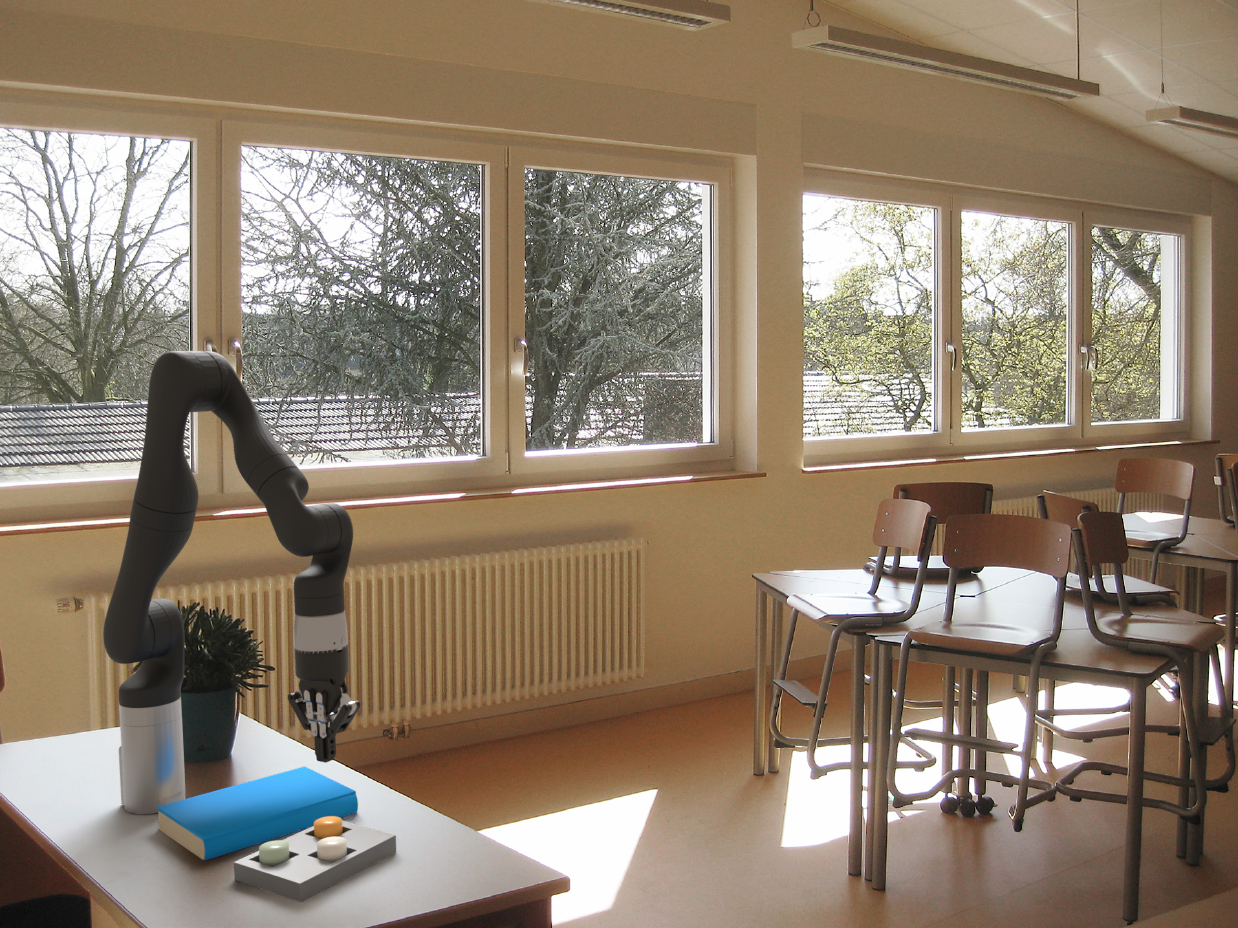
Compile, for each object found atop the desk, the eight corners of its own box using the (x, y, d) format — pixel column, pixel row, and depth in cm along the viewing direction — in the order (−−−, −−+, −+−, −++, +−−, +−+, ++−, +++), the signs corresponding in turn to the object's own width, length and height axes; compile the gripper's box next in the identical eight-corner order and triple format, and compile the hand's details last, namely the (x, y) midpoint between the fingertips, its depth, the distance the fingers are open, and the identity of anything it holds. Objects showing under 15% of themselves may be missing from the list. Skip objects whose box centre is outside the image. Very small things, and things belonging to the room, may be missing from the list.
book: (155, 807, 174) (303, 763, 191) (157, 834, 174) (304, 788, 191) (205, 838, 161) (358, 789, 179) (206, 867, 162) (359, 815, 179)
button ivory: (311, 862, 158) (310, 844, 157) (332, 851, 161) (332, 834, 161) (331, 868, 156) (331, 850, 155) (353, 857, 159) (352, 840, 159)
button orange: (308, 840, 165) (307, 823, 165) (329, 830, 168) (328, 814, 168) (328, 846, 163) (327, 829, 163) (348, 836, 166) (347, 819, 166)
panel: (234, 879, 156) (233, 862, 156) (332, 833, 171) (331, 817, 171) (300, 902, 149) (300, 883, 149) (396, 852, 164) (395, 835, 164)
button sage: (253, 866, 157) (252, 848, 156) (276, 855, 160) (275, 838, 160) (273, 872, 154) (272, 854, 154) (295, 861, 158) (295, 844, 158)
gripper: (269, 643, 164) (274, 760, 165) (334, 653, 157) (339, 776, 158) (308, 632, 170) (313, 746, 171) (373, 642, 163) (377, 760, 164)
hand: (325, 760), depth 165 cm, fingers closed
